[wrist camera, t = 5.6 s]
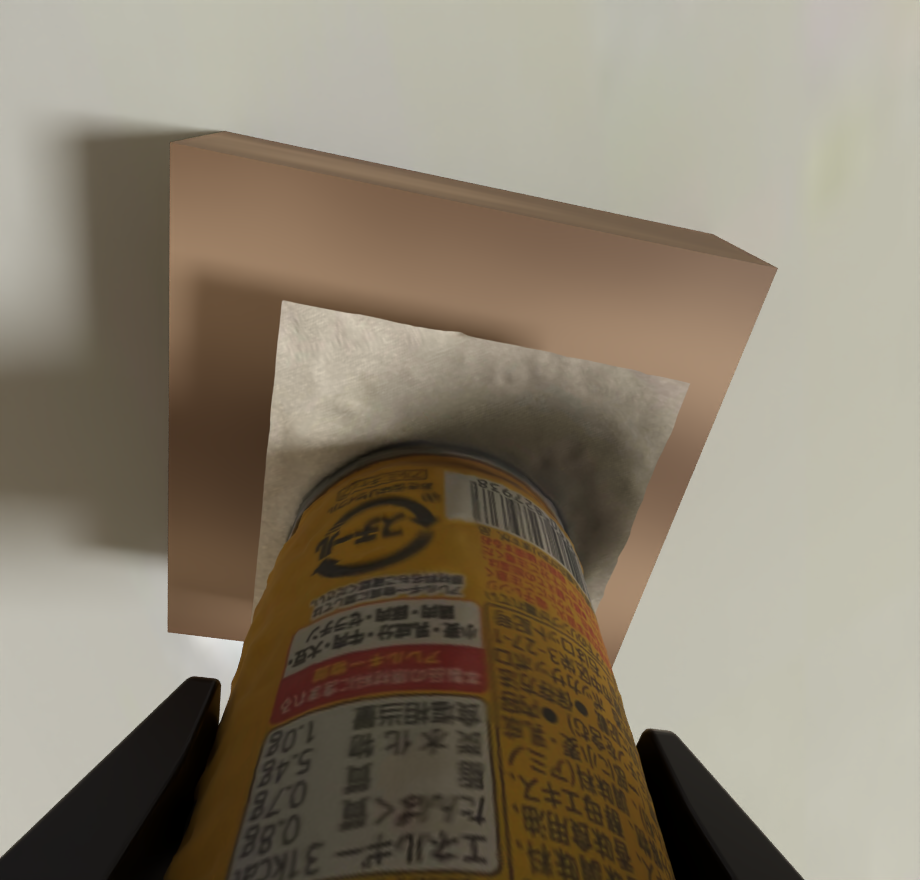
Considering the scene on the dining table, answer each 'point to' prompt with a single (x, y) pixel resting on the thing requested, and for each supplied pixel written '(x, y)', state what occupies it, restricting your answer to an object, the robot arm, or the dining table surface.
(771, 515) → the dining table surface
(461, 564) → the condiment
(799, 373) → the dining table surface
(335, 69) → the dining table surface
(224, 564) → the brown flat box
